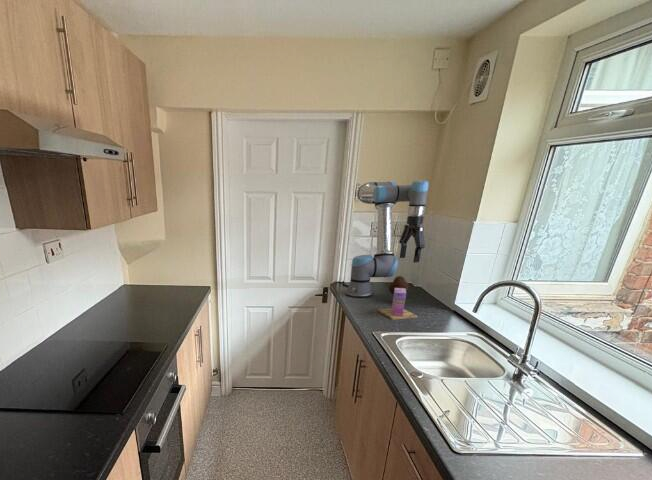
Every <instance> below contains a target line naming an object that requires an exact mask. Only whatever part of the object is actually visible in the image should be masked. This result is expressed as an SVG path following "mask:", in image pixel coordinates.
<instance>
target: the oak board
mask: <svg viewBox="0 0 652 480" xmlns="http://www.w3.org/2000/svg"><path fill="white" fill-rule="evenodd" d="M377 312H379V313H380V314H382V315H384V316H385V317H387V318H389V319H390V320H392V321H394V320H407V319H408V320H409V319H418V317H419V316H418V315H417V314H414V313H413V312H411V311H409V310H407V309H405V308H404V310H403V316H400V315H392V307H391V308H379V309H377Z"/></svg>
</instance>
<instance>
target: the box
mask: <svg viewBox="0 0 652 480" xmlns="http://www.w3.org/2000/svg"><path fill="white" fill-rule="evenodd" d="M406 297H407V292H406V289H405V288H395V290H394V295H393V297H392V301H393V303H391V308H392V315H400V316H403V310H404V309H405V303H406Z"/></svg>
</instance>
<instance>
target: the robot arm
mask: <svg viewBox="0 0 652 480" xmlns="http://www.w3.org/2000/svg"><path fill="white" fill-rule="evenodd" d="M428 193H429V181H428V180H413V181H412V182H411V184H400V185H399V184H398V183H397V182H395V181H369V182H366V183H363V184H362V185H360V186H359V188H358V190H357V195H356V196H357V198H358V200H359V201H360V202H361V203H363V204H368V205H374V209H376V213H377V214H376V215H377V216H376V252H375V253H374V254H373V255H372V254H361V255H356V256H354V257H353V258H352V261H351V265H350V266H351V268H350V269H351V270H350V279H349V280H350V281H349V284H346V283H345V281H344V280H342V283H341V284H342V285H343V286H345V287H347V288H346V293H345V294H346V296H348V297H352V298H369V297H371V296H372V294H373V293H372V292H373V291H372V286H371V279H372V278H391V277H393V276H394V275H395V274H396V272H397V270H398V265H399V260H398V257H397V256H395V253H394V251H393V248H392V247H393V210H394V208H395V207H396V204H397V203H400V202H401V203H403V202H405V203H407V202H408V211H407V215H408V216H407V217H406V224H405V225H404V228H403V232H402V233H401V236H400V238H399V241H398V244H400V251H399V259H405V258H406V254H407V248H408V241H409V240H410V238H411V237H412V238H413V240H414V243H415V244H414V245H415V249H414V255H413V262H412V263H420V259H421V254H422V249H425V248H426V245H425V244H426V243H425V234H424V230H425V228H424V227H423V226H421V225H422V224H423V223H424V215H425V209H426V203H427V199H428V198H427V197H428Z"/></svg>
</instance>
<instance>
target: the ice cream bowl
mask: <svg viewBox="0 0 652 480" xmlns="http://www.w3.org/2000/svg"><path fill="white" fill-rule="evenodd" d="M395 288H405V289H406V293H407V292H408V290H409V288H410V286H409V283H408V282H407V280H406V278H405V277H404V276H402V275H398V276H396V277H395V278H394V279H393V281H392V282H391V283H390V284H389V285H388V291H389V293H390V294H392V295H393V296H394V290H395ZM391 304H393V300H392V301H391Z"/></svg>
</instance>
